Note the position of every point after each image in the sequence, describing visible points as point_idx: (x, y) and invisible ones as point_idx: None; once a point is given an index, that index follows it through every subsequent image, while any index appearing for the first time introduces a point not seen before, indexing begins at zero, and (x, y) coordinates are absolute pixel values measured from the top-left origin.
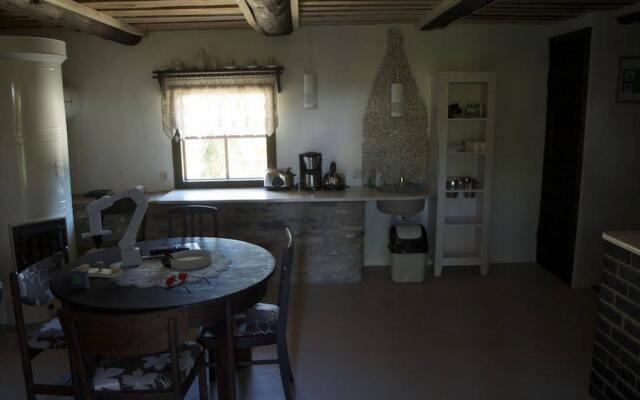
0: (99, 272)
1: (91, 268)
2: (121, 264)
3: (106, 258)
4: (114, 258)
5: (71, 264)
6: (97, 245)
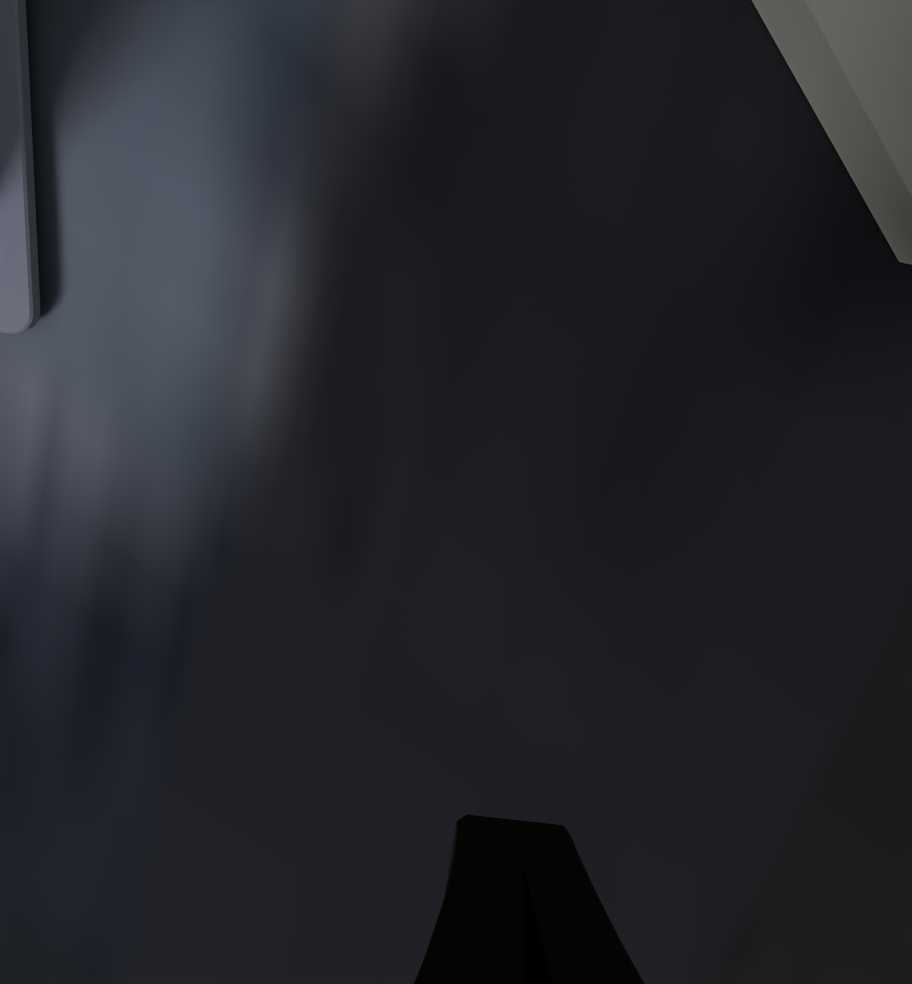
0: None
1: (897, 71)
2: (24, 163)
3: (244, 933)
4: (105, 843)
5: (879, 971)
6: (568, 948)
